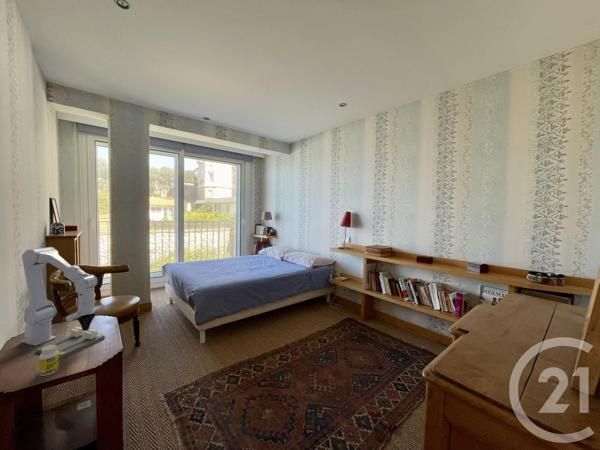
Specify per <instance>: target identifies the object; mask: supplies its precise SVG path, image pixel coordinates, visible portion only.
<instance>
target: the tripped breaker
mask: <svg viewBox="0 0 600 450" xmlns="http://www.w3.org/2000/svg"><path fill="white" fill-rule="evenodd" d="M97 334H98V330H96V329H90V328H89V330H87V331H85V332H84V338H86V339H90V340H91V339H93V338H95V337H97Z"/></svg>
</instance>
